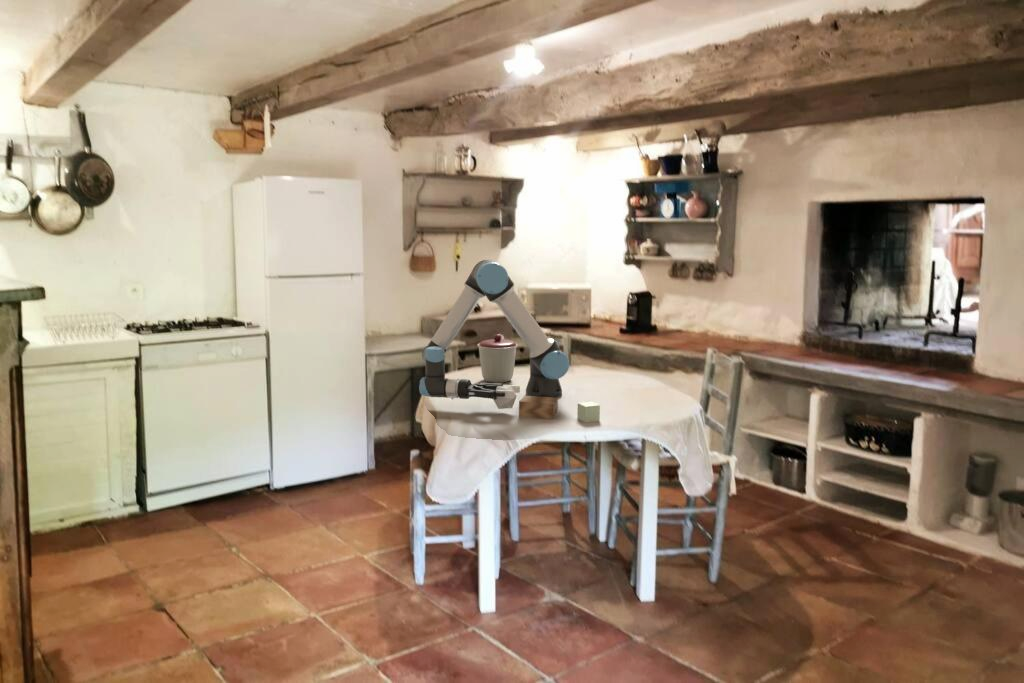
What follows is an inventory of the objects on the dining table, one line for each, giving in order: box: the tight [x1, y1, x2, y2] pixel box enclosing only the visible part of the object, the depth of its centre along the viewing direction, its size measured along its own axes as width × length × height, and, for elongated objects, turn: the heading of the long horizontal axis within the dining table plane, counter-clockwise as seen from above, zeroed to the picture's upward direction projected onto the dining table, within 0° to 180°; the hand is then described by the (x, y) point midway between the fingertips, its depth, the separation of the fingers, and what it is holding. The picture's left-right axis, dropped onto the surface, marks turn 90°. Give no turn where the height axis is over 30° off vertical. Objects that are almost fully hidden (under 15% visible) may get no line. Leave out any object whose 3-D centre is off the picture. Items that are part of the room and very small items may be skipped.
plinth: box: [518, 395, 559, 420], centre depth 299 cm, size 13×9×6 cm
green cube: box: [576, 401, 601, 423], centre depth 293 cm, size 6×6×6 cm
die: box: [492, 386, 518, 410], centre depth 301 cm, size 8×9×10 cm
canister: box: [477, 334, 519, 383], centre depth 356 cm, size 18×18×21 cm
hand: (516, 391), depth 300 cm, fingers closed on die, 8 cm apart
